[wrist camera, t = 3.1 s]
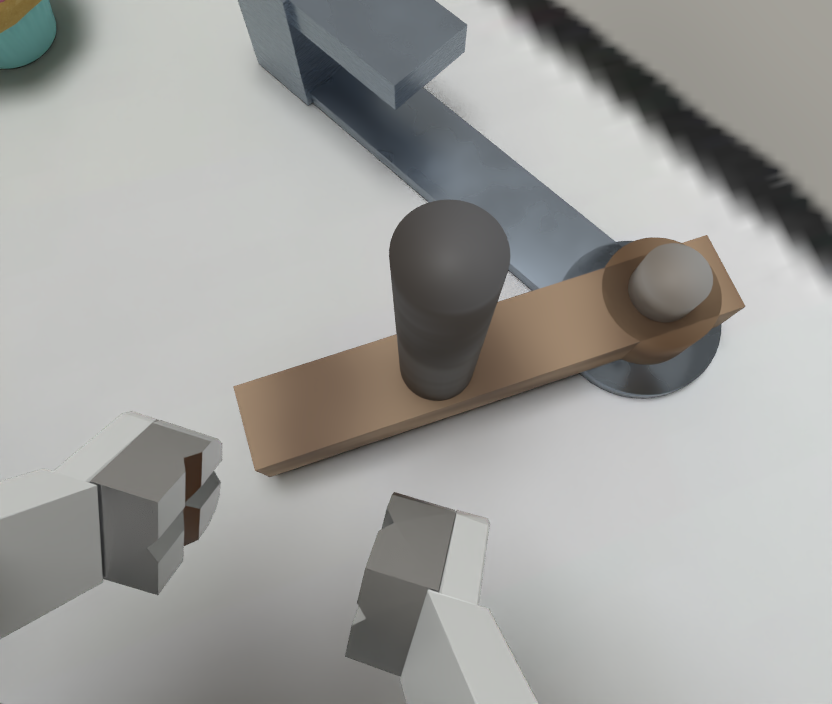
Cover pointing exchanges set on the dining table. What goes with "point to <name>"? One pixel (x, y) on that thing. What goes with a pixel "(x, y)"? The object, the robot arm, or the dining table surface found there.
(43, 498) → the robot arm
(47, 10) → the cupcake
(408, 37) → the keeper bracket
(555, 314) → the walnut link
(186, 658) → the dining table surface
